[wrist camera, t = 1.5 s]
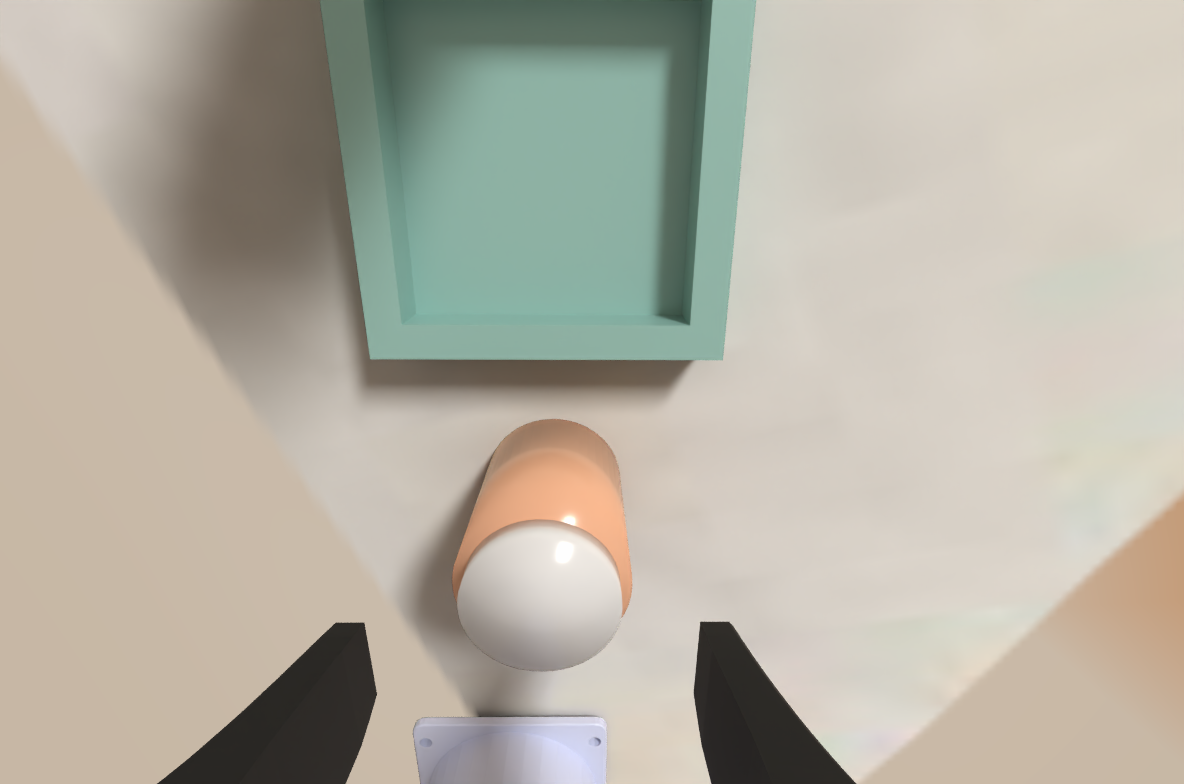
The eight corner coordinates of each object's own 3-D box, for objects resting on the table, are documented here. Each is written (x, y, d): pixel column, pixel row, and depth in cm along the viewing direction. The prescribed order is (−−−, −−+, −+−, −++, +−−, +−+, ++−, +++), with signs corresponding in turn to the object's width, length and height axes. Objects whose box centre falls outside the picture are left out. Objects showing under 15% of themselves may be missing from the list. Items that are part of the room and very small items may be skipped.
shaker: (618, 535, 20) (632, 679, 14) (492, 535, 20) (452, 680, 14) (621, 419, 18) (638, 527, 12) (484, 419, 18) (435, 527, 12)
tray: (707, 341, 17) (722, 360, 16) (393, 340, 17) (369, 359, 15) (739, -38, 14) (762, -74, 12) (346, -42, 14) (308, -79, 12)
